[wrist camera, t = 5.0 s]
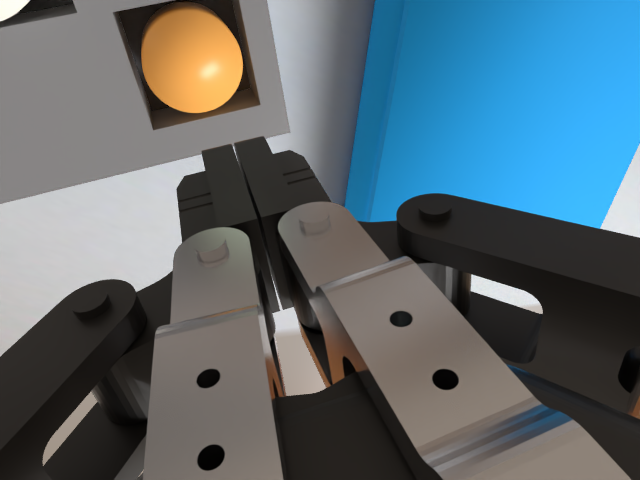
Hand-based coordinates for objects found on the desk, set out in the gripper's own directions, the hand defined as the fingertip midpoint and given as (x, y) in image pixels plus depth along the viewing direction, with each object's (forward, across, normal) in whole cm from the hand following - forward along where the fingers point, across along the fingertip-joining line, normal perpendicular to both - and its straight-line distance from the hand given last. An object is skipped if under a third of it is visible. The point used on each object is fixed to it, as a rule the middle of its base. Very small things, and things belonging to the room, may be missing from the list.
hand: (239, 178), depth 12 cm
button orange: (+13, 0, 0) cm, 13 cm away
